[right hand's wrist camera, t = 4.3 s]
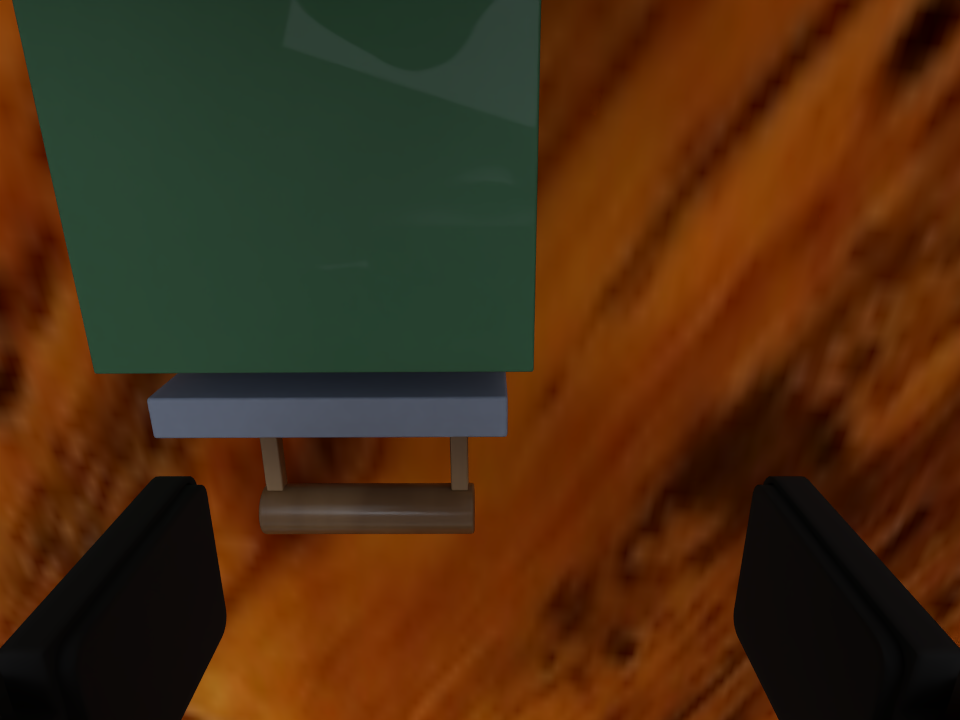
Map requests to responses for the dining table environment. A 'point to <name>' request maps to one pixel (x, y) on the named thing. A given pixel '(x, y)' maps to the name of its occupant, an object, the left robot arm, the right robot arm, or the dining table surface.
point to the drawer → (343, 413)
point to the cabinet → (294, 180)
